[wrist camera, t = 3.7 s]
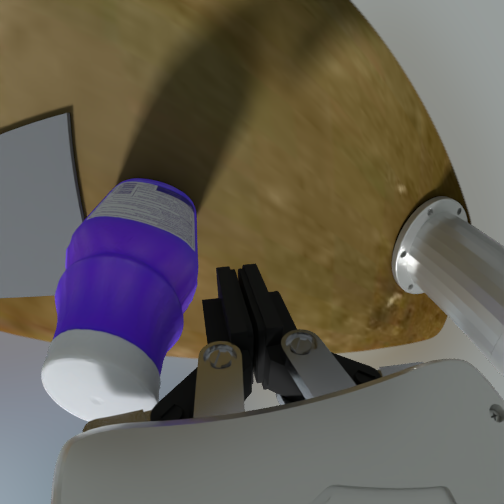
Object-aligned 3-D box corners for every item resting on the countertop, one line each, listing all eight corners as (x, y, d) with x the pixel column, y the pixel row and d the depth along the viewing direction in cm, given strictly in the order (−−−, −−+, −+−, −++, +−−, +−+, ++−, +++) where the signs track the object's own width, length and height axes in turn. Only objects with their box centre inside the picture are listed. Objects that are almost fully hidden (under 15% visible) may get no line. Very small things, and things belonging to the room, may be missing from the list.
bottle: (103, 230, 22) (20, 410, 7) (117, 165, 20) (-15, 305, 5) (183, 251, 25) (190, 450, 10) (204, 190, 23) (238, 370, 7)
